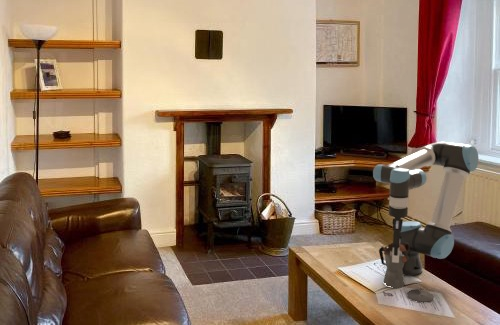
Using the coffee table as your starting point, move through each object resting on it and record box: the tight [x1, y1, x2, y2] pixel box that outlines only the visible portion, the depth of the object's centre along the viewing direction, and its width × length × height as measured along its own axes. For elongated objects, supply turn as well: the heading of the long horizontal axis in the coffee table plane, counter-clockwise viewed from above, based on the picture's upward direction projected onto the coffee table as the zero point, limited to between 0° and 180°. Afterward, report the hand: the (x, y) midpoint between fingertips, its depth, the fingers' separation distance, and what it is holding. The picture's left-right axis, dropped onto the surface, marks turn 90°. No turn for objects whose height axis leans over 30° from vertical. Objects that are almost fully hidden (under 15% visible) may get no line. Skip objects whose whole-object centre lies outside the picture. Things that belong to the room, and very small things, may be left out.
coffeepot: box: [378, 246, 405, 289], centre depth 242 cm, size 15×9×18 cm, turn 39°
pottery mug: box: [383, 242, 410, 263], centre depth 228 cm, size 12×10×8 cm
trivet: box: [406, 288, 435, 304], centre depth 230 cm, size 11×11×1 cm
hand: (395, 257), depth 228 cm, fingers closed on pottery mug, 9 cm apart
